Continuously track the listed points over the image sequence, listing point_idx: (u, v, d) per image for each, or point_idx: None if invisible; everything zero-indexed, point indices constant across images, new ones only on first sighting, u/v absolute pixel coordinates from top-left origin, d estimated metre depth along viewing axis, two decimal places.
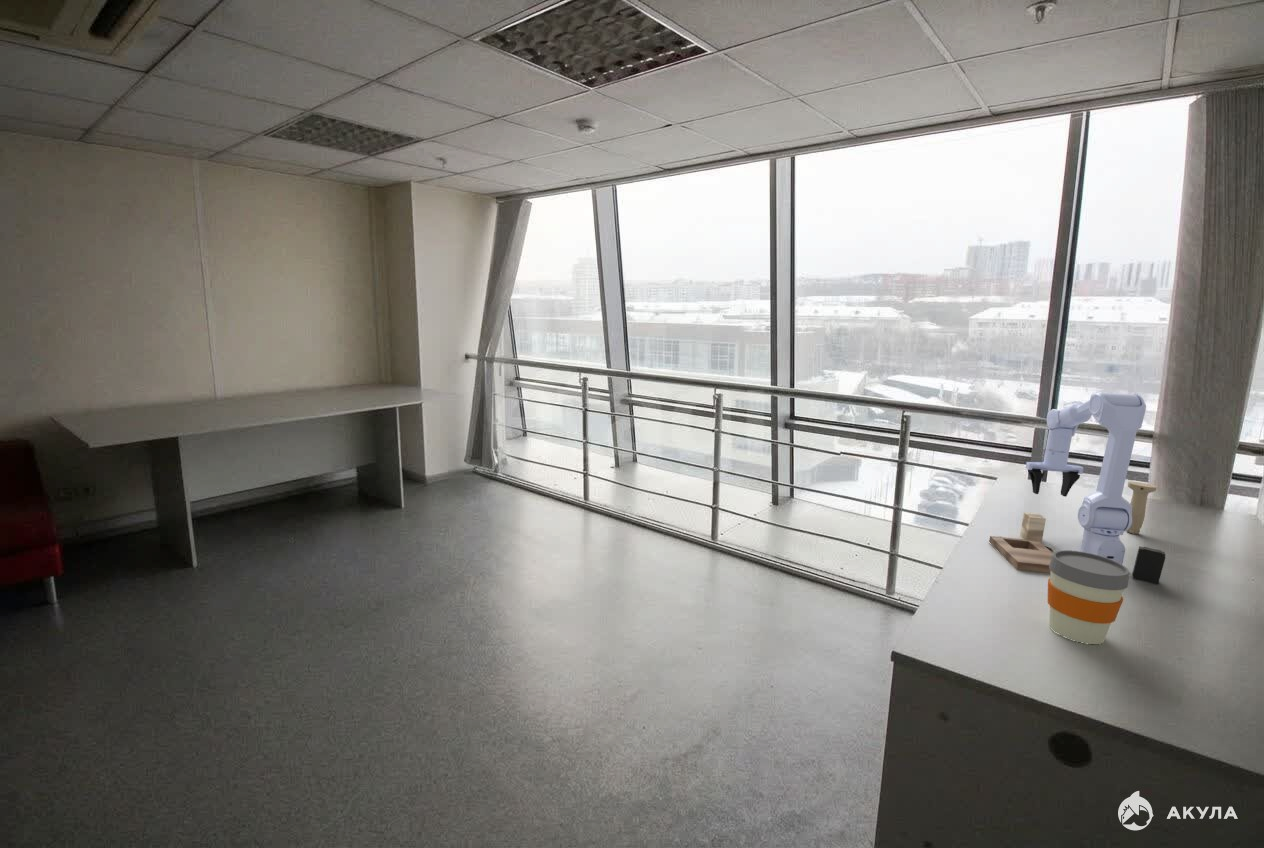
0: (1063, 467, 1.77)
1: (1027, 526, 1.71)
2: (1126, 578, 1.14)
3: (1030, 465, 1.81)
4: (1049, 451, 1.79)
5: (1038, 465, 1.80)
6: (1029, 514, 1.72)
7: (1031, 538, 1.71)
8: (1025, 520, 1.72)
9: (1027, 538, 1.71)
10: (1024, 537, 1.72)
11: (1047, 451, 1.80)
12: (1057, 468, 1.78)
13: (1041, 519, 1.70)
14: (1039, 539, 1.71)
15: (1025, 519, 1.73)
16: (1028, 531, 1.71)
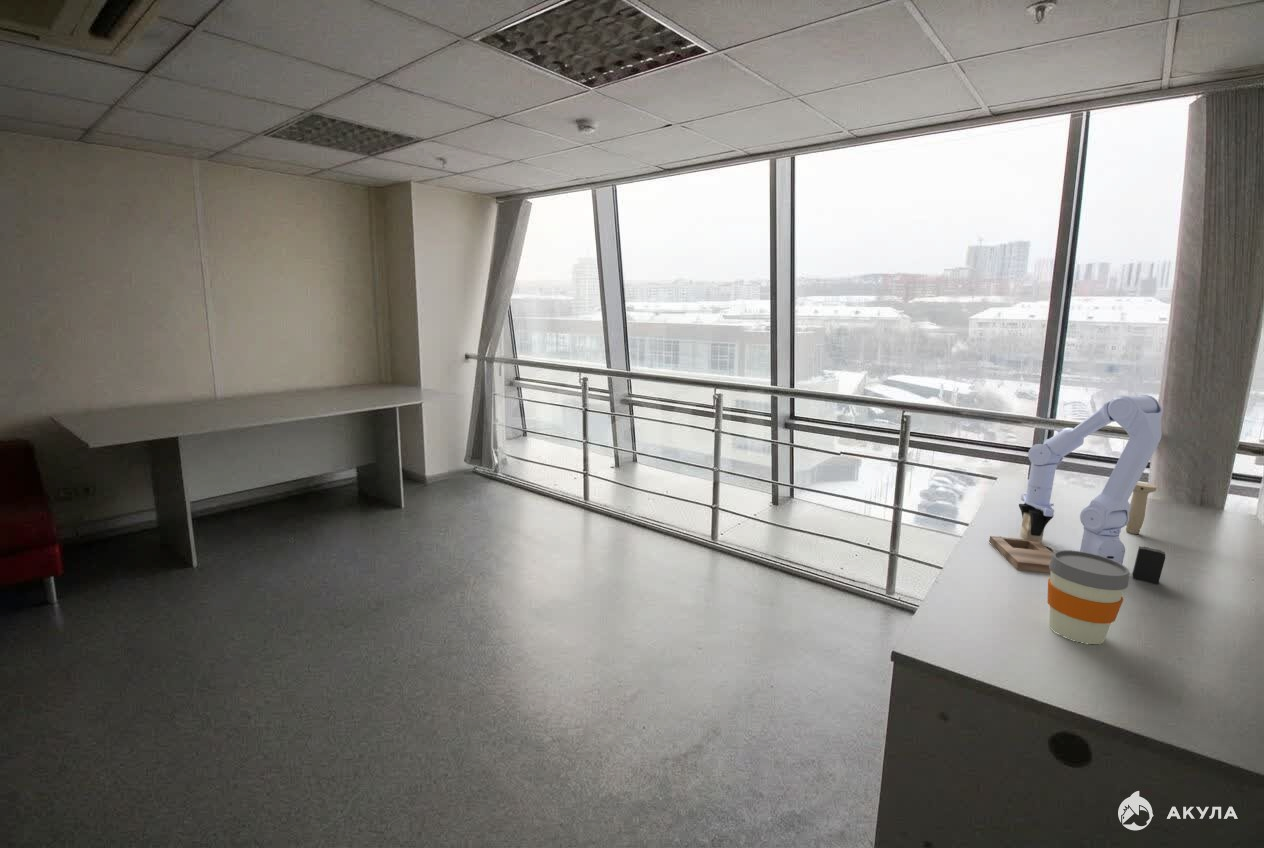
0: (1028, 501, 1.70)
1: (1027, 526, 1.71)
2: (1126, 578, 1.14)
3: (1021, 496, 1.78)
4: None
5: (1023, 496, 1.76)
6: (1029, 514, 1.72)
7: (1031, 538, 1.71)
8: (1026, 520, 1.72)
9: (1027, 538, 1.71)
10: (1024, 537, 1.72)
11: None
12: (1024, 501, 1.72)
13: None
14: (1039, 539, 1.71)
15: (1025, 519, 1.73)
16: (1028, 531, 1.71)
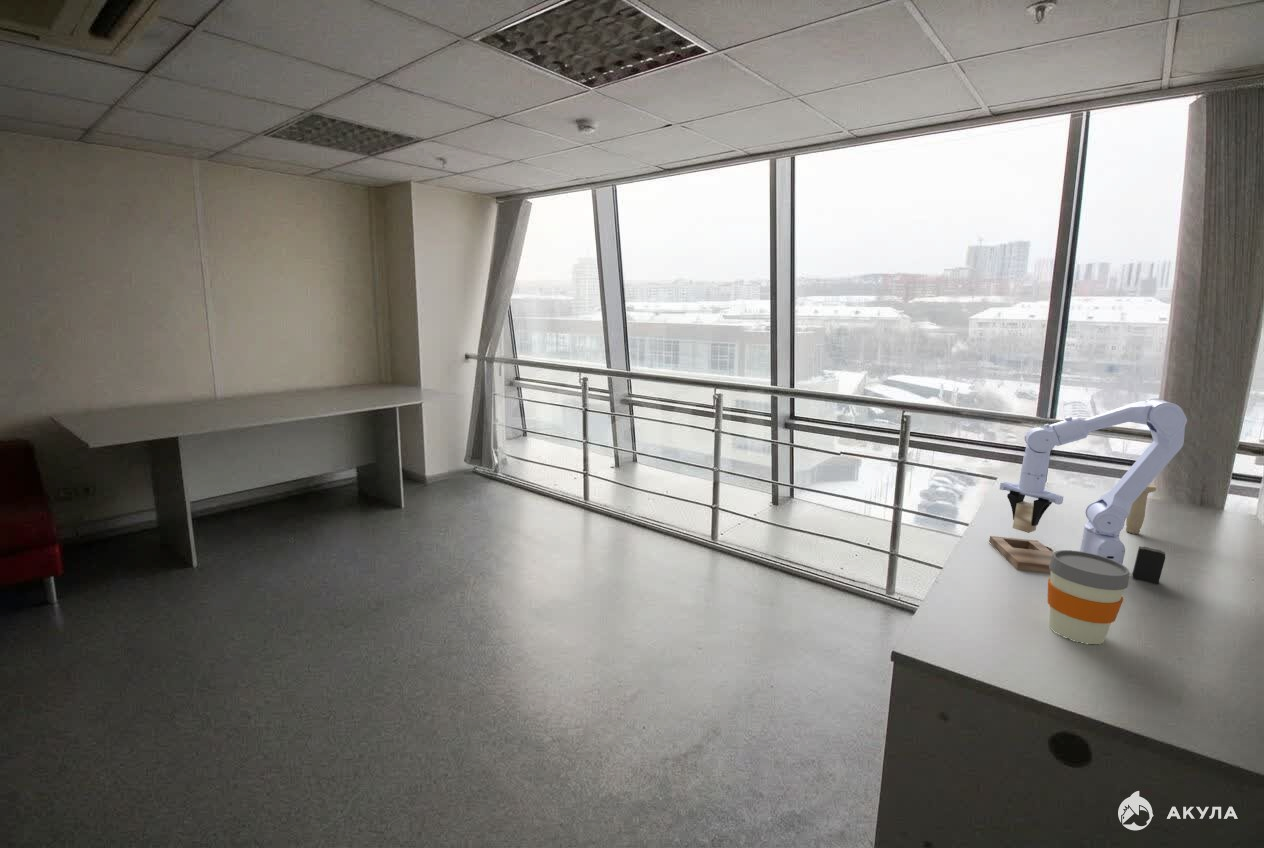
0: (1030, 492, 1.58)
1: (1028, 517, 1.60)
2: (1126, 578, 1.14)
3: (1001, 485, 1.66)
4: (1021, 472, 1.61)
5: (1008, 486, 1.64)
6: (1024, 504, 1.61)
7: (1031, 529, 1.61)
8: (1023, 511, 1.61)
9: (1029, 530, 1.60)
10: (1023, 529, 1.61)
11: None
12: (1023, 491, 1.60)
13: None
14: (1034, 528, 1.62)
15: (1021, 510, 1.61)
16: (1031, 522, 1.60)
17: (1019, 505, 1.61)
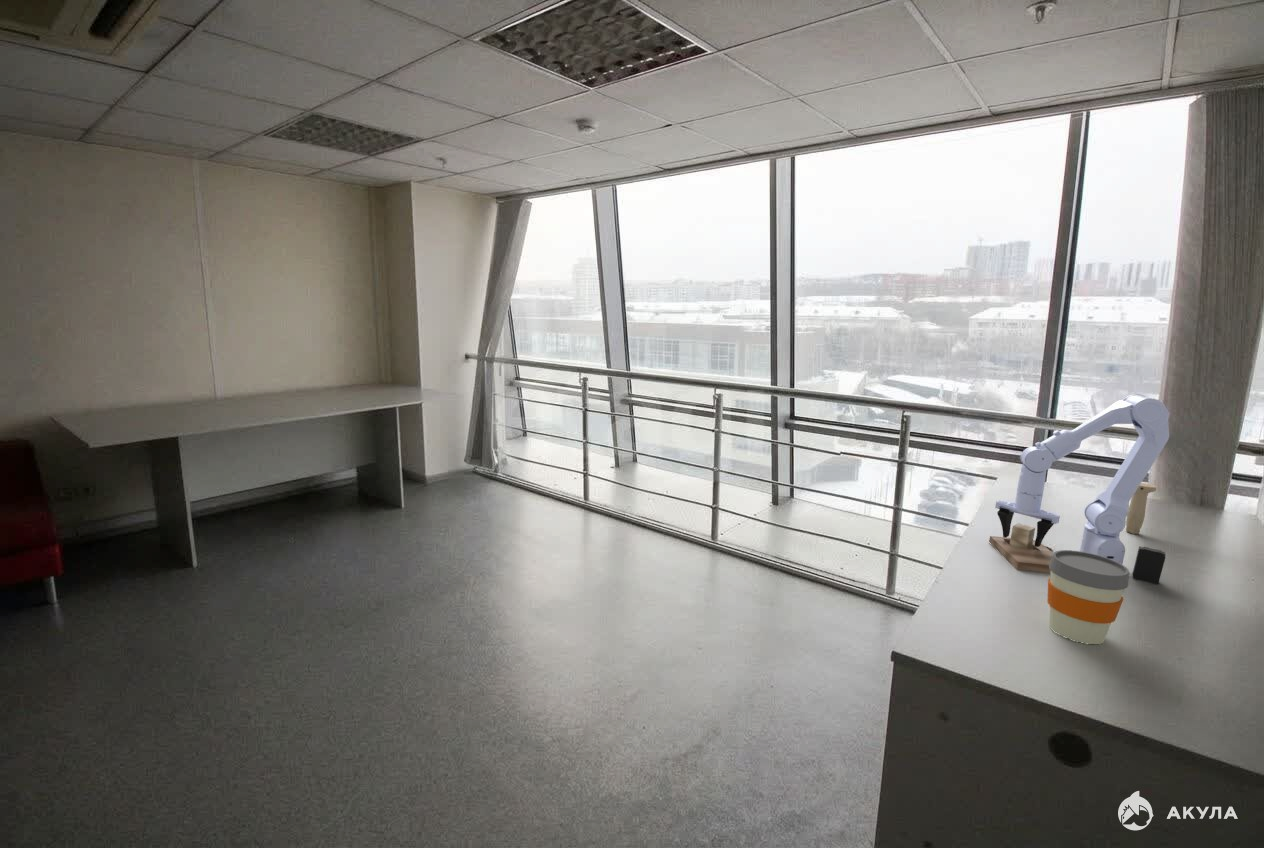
0: (1027, 511, 1.58)
1: (1024, 540, 1.60)
2: (1126, 578, 1.14)
3: (996, 504, 1.66)
4: (1017, 491, 1.61)
5: (1004, 505, 1.64)
6: (1019, 527, 1.61)
7: None
8: (1019, 534, 1.61)
9: None
10: None
11: (1017, 491, 1.62)
12: (1020, 511, 1.59)
13: (1033, 529, 1.61)
14: None
15: (1018, 533, 1.61)
16: (1027, 545, 1.60)
17: (1015, 528, 1.62)
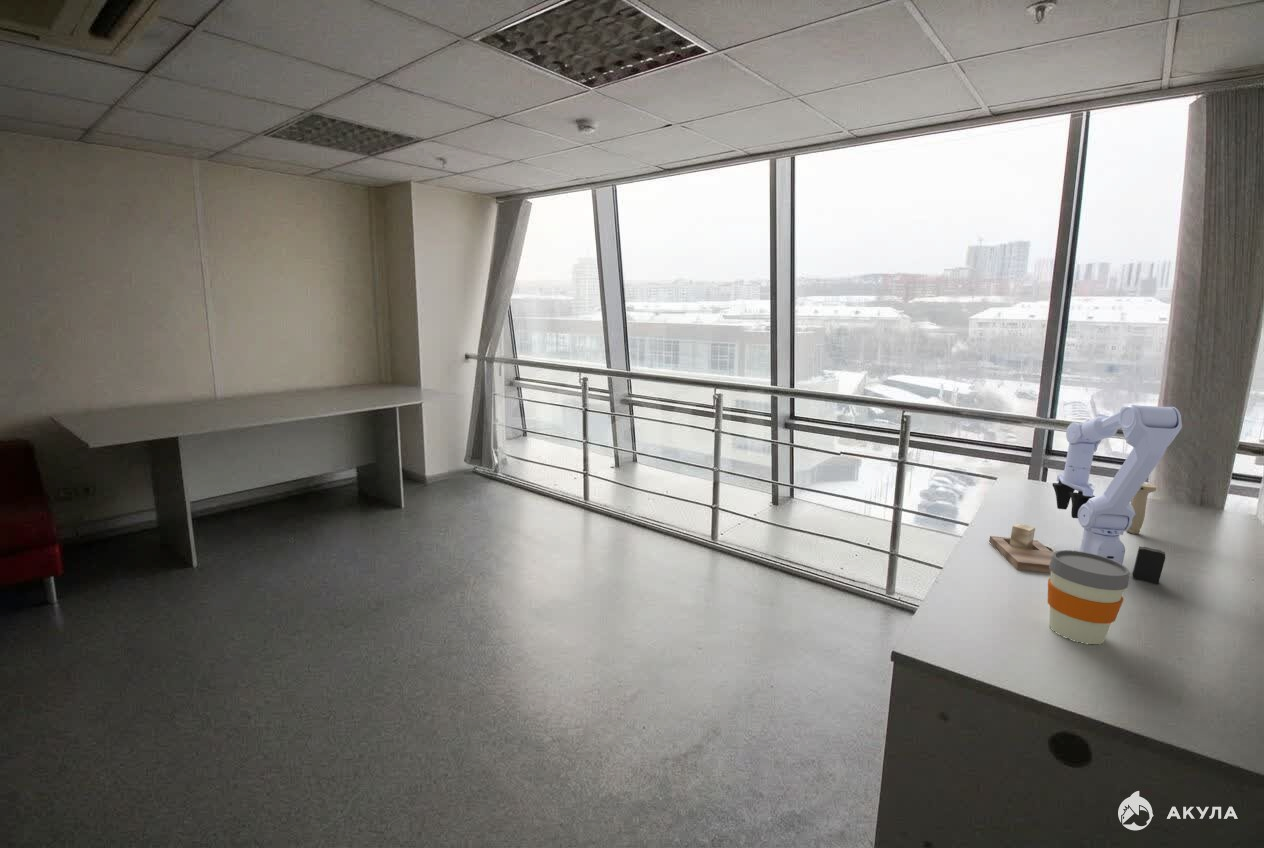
0: (1066, 482, 1.67)
1: (1024, 540, 1.60)
2: (1126, 578, 1.14)
3: (1057, 476, 1.75)
4: None
5: (1059, 477, 1.73)
6: (1019, 527, 1.61)
7: None
8: (1019, 534, 1.61)
9: None
10: None
11: None
12: (1061, 481, 1.69)
13: (1033, 529, 1.61)
14: None
15: (1017, 533, 1.61)
16: (1027, 545, 1.60)
17: (1015, 528, 1.62)
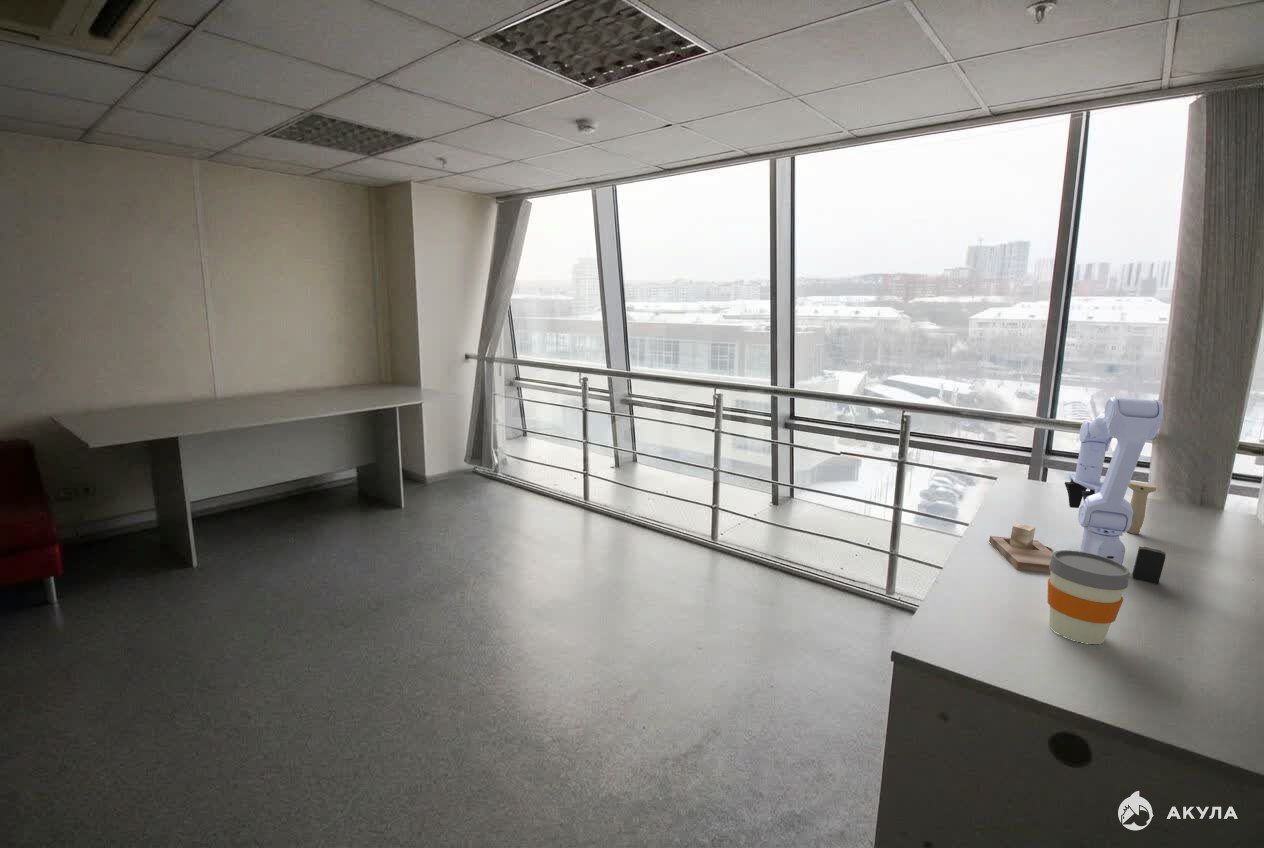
0: (1078, 480, 1.70)
1: (1024, 540, 1.60)
2: (1126, 578, 1.14)
3: (1069, 475, 1.77)
4: None
5: (1072, 476, 1.75)
6: (1019, 527, 1.61)
7: None
8: (1019, 534, 1.61)
9: None
10: None
11: None
12: (1073, 480, 1.71)
13: (1033, 529, 1.61)
14: None
15: (1018, 533, 1.61)
16: (1027, 545, 1.60)
17: (1015, 528, 1.62)
